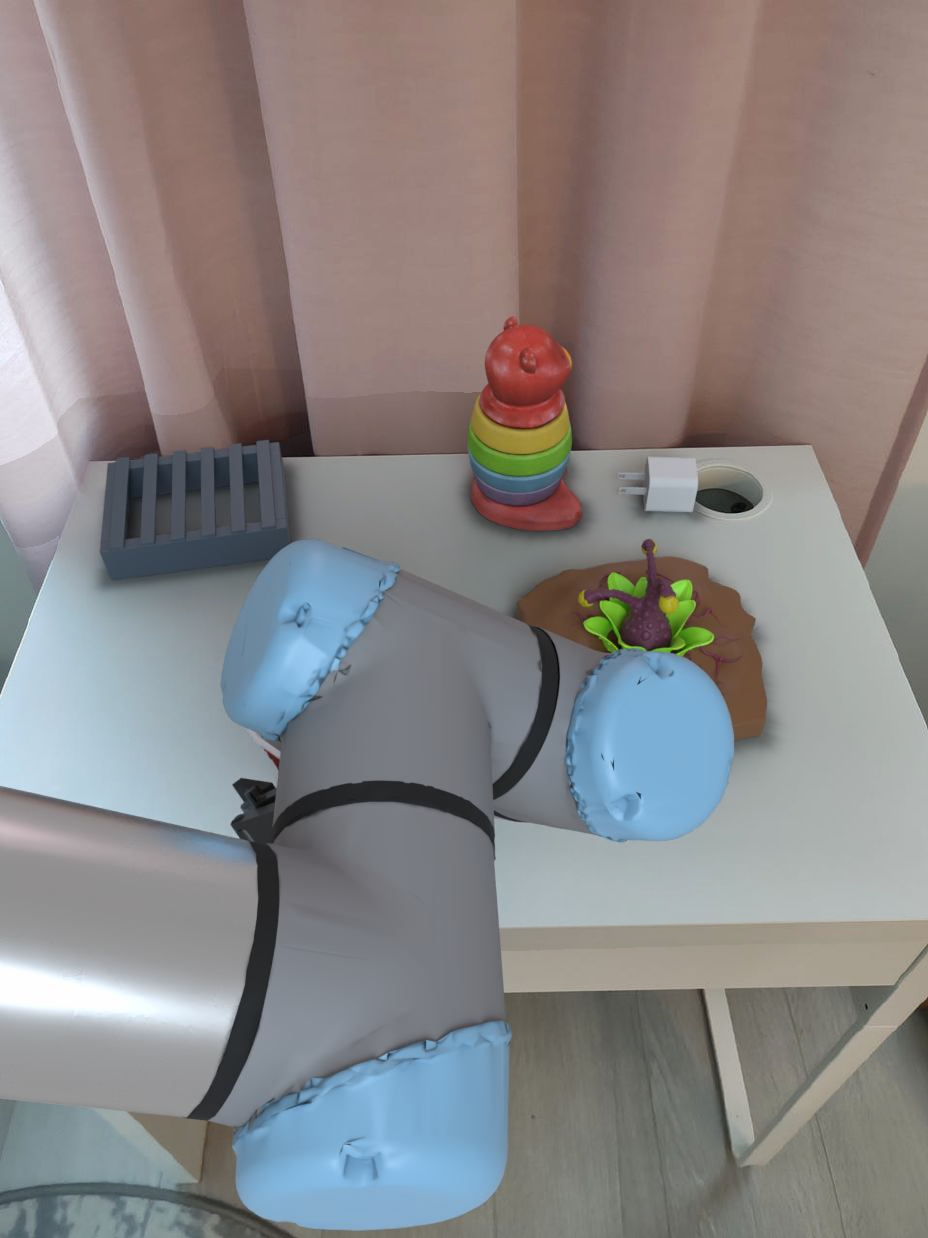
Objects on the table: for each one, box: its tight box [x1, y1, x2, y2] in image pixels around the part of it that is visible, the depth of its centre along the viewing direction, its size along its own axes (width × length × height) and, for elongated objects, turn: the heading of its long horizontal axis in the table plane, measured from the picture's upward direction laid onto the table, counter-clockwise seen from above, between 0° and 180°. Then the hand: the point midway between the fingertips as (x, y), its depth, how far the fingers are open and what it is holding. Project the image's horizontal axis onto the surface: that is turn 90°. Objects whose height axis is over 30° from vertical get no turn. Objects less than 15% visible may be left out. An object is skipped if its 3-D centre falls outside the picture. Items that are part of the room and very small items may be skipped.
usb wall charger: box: [616, 456, 699, 513], centre depth 92 cm, size 4×7×4 cm, turn 87°
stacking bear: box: [467, 316, 583, 532], centre depth 88 cm, size 11×10×18 cm
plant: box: [516, 538, 768, 742], centre depth 77 cm, size 20×20×11 cm
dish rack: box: [99, 439, 292, 581], centre depth 91 cm, size 16×12×4 cm
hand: (326, 737), depth 70 cm, fingers open, 13 cm apart
